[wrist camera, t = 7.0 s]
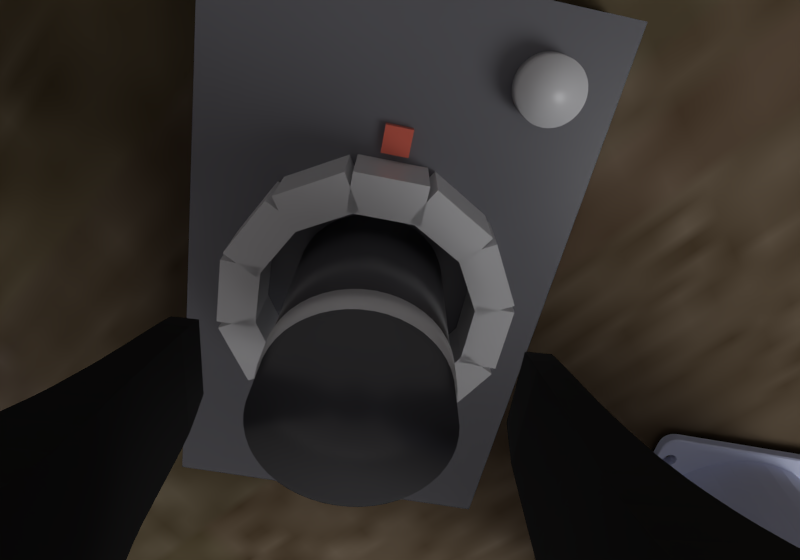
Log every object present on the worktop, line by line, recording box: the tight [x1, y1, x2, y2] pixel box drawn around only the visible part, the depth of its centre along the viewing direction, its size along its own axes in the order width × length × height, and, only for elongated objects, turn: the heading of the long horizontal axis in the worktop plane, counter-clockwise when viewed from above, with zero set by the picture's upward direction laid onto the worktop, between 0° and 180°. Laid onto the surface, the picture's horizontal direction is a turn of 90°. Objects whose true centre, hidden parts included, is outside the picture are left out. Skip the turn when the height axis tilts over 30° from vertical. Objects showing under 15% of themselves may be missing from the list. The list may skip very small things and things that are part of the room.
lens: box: [243, 215, 460, 507], centre depth 13 cm, size 4×4×6 cm
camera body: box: [182, 0, 647, 509], centre depth 16 cm, size 16×10×4 cm, turn 169°
